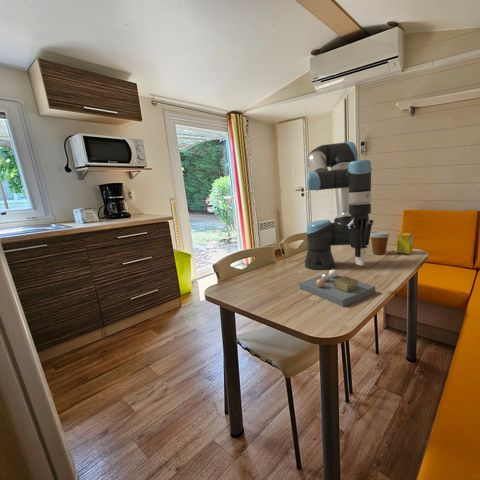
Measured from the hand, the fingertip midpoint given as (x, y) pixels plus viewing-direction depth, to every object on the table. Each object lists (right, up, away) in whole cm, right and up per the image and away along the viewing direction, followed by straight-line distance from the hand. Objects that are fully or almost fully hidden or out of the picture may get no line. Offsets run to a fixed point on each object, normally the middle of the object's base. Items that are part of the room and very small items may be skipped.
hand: (359, 264), depth 102 cm
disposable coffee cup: (+32, +2, +46) cm, 56 cm away
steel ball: (-11, -6, +7) cm, 14 cm away
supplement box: (+44, +2, +43) cm, 61 cm away
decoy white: (-7, -5, +10) cm, 13 cm away
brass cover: (-6, -9, -2) cm, 11 cm away
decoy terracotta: (-15, -7, +1) cm, 17 cm away
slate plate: (-8, -11, +3) cm, 14 cm away
